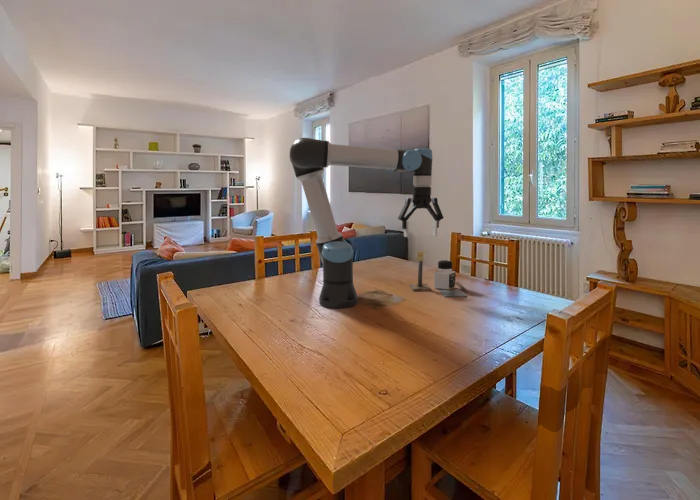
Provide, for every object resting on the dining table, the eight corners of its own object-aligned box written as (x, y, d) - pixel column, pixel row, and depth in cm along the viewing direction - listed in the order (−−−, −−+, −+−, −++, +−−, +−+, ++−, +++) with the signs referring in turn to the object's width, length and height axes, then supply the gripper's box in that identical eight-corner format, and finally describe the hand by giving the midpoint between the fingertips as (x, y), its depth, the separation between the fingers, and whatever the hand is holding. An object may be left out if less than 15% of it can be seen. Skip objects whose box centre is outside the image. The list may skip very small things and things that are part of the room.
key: (422, 262, 163) (422, 253, 162) (416, 261, 164) (416, 252, 163) (426, 255, 176) (426, 247, 176) (420, 255, 177) (421, 247, 177)
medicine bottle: (449, 289, 164) (449, 262, 163) (433, 287, 168) (434, 261, 167) (455, 286, 170) (456, 260, 168) (440, 285, 174) (440, 259, 172)
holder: (413, 293, 162) (414, 264, 160) (408, 284, 176) (408, 257, 173) (467, 292, 162) (468, 263, 160) (457, 283, 176) (458, 257, 174)
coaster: (445, 297, 156) (445, 295, 156) (439, 290, 165) (439, 289, 164) (466, 296, 156) (466, 295, 156) (460, 290, 165) (460, 289, 165)
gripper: (443, 186, 168) (441, 234, 172) (391, 186, 161) (390, 235, 165) (452, 186, 161) (450, 236, 165) (398, 186, 154) (397, 238, 158)
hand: (420, 236), depth 165 cm, fingers open, 13 cm apart
